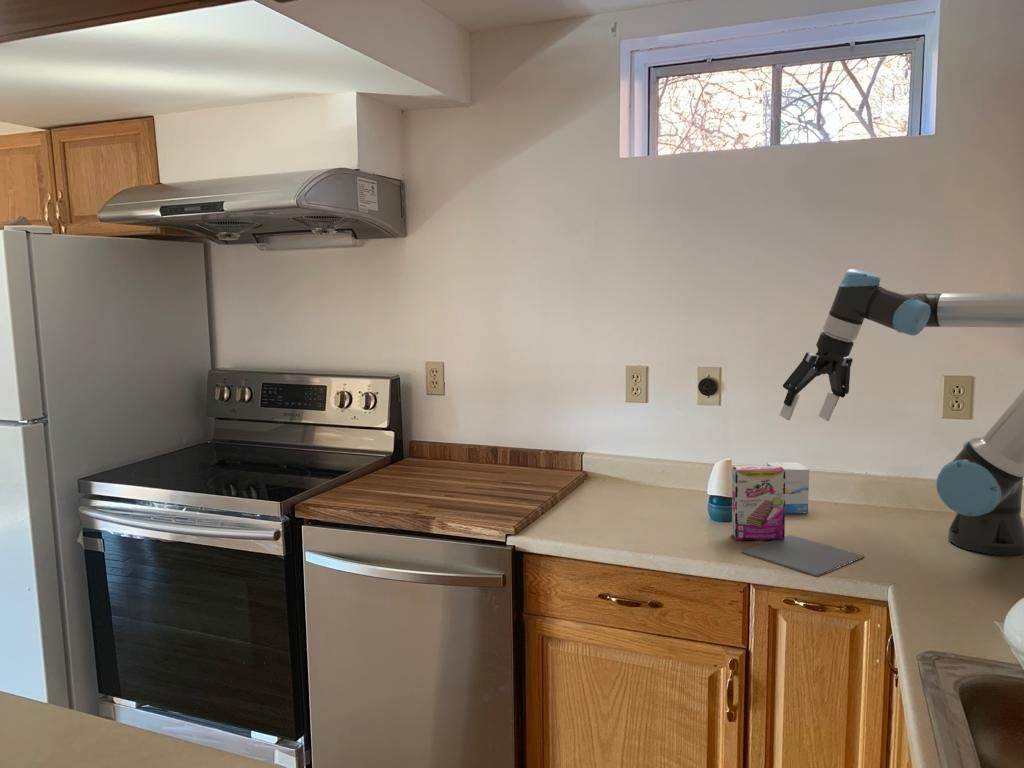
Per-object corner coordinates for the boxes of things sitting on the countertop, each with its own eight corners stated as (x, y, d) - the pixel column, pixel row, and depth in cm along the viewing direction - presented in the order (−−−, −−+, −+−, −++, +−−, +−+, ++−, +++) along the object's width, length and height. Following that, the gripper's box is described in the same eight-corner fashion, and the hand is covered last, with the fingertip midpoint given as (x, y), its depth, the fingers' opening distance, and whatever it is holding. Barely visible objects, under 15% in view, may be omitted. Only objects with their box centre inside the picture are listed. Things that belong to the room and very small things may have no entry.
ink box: (808, 513, 197) (810, 469, 195) (775, 514, 197) (776, 469, 196) (797, 504, 205) (798, 461, 204) (764, 504, 206) (766, 461, 204)
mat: (864, 557, 165) (864, 555, 165) (817, 576, 154) (817, 575, 154) (789, 536, 179) (789, 534, 179) (741, 552, 168) (741, 551, 168)
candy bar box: (735, 540, 176) (734, 469, 174) (731, 534, 181) (730, 465, 179) (786, 540, 175) (786, 469, 173) (780, 534, 180) (780, 464, 178)
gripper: (860, 333, 187) (827, 411, 195) (788, 326, 175) (756, 410, 182) (885, 345, 181) (850, 425, 189) (813, 338, 169) (778, 424, 176)
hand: (804, 418), depth 186 cm, fingers open, 13 cm apart
